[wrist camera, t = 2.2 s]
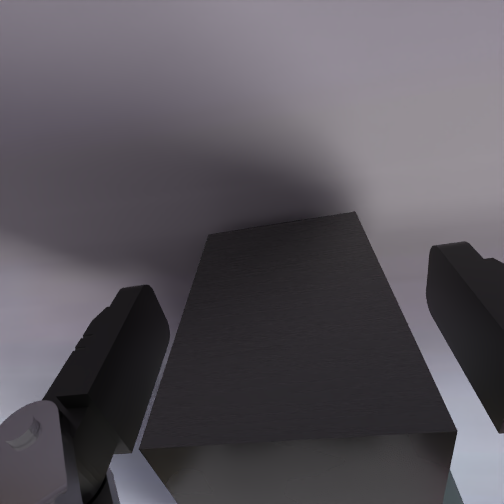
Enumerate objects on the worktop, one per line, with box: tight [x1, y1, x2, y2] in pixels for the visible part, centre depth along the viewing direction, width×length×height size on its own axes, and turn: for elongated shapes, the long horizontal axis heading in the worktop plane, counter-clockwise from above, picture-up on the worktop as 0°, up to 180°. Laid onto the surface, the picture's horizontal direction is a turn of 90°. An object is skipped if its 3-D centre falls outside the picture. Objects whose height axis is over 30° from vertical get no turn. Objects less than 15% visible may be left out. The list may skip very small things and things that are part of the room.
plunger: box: [139, 212, 457, 504], centre depth 12 cm, size 6×18×6 cm, turn 12°
